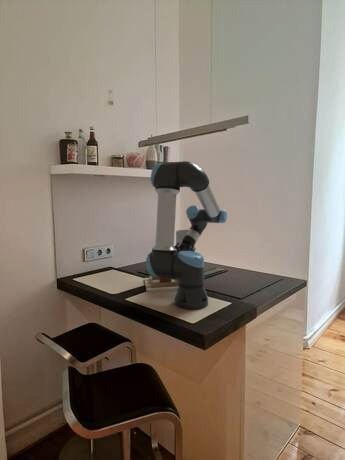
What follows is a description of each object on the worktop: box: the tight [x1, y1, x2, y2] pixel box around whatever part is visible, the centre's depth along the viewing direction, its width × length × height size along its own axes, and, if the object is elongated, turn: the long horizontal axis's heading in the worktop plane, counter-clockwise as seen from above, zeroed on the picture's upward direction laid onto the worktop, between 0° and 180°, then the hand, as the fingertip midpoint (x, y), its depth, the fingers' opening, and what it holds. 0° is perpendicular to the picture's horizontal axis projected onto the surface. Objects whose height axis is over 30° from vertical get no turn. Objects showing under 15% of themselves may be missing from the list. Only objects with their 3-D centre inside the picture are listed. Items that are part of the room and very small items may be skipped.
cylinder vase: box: [175, 229, 196, 252], centre depth 205 cm, size 12×12×25 cm
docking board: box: [143, 275, 178, 293], centre depth 170 cm, size 22×22×3 cm
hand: (171, 268), depth 173 cm, fingers open, 13 cm apart
